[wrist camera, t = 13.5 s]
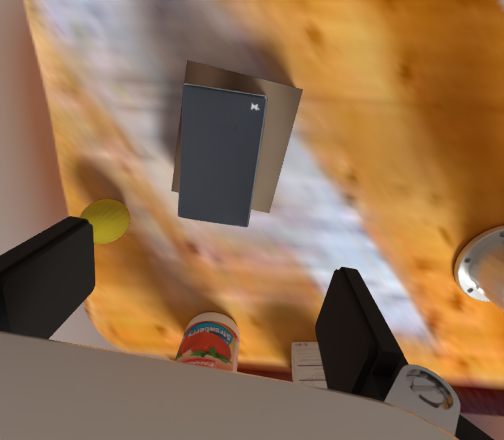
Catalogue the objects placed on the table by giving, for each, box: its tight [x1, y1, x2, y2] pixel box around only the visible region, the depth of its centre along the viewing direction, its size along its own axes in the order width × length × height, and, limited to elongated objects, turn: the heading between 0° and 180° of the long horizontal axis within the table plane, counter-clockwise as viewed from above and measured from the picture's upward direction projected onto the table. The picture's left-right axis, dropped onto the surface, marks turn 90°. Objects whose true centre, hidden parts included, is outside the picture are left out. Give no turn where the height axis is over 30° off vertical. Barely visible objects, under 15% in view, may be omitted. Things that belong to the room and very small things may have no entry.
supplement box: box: [291, 342, 327, 388], centre depth 45 cm, size 7×7×13 cm
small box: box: [178, 83, 268, 227], centre depth 26 cm, size 11×6×10 cm, turn 172°
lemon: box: [79, 199, 130, 244], centre depth 37 cm, size 6×6×8 cm
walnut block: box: [172, 60, 303, 213], centre depth 34 cm, size 12×14×6 cm
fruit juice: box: [175, 312, 240, 372], centre depth 36 cm, size 9×9×28 cm
